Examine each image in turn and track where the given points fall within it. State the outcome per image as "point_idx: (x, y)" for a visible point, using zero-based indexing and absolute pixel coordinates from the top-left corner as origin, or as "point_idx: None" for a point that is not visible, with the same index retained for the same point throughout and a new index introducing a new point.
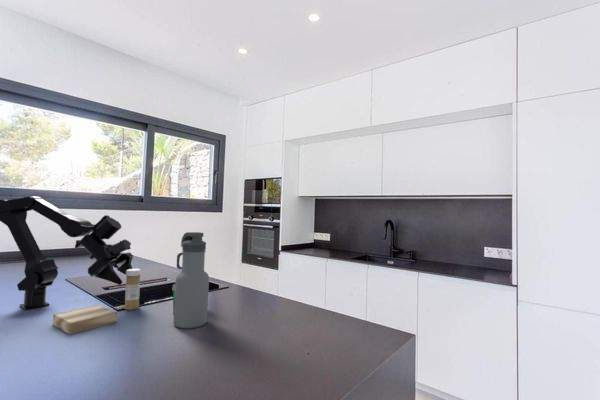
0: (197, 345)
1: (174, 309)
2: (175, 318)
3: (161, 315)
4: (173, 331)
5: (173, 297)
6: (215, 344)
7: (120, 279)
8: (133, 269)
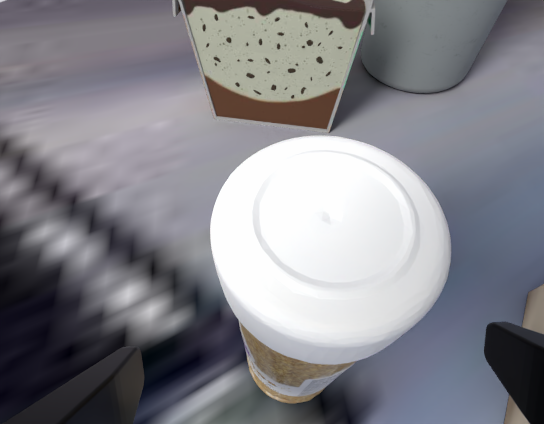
0: (532, 23)
1: (480, 36)
2: (475, 57)
3: None
4: (488, 80)
5: (349, 70)
6: (506, 3)
7: (532, 340)
8: (317, 225)
